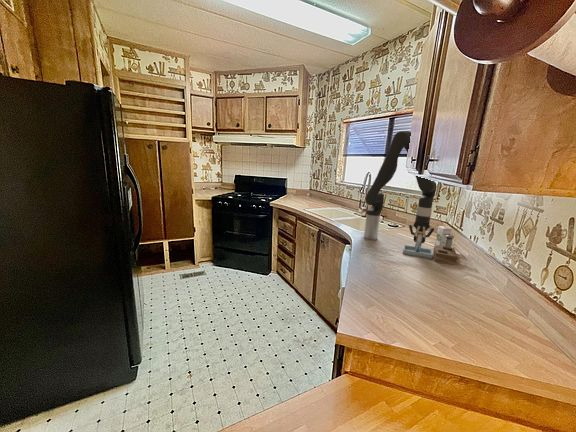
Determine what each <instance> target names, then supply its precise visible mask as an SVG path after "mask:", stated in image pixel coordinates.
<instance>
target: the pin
mask: <svg viewBox="0 0 576 432" xmlns="http://www.w3.org/2000/svg"><path fill="white" fill-rule="evenodd" d="M445 237H446V242H445V248H444V249H445V250H451V248H452V246H453V245H452V244H453V241H454V239H455V235H452V234H451V235H446V236H445Z"/></svg>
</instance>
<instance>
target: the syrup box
mask: <svg viewBox="0 0 576 432" xmlns="http://www.w3.org/2000/svg"><path fill="white" fill-rule="evenodd" d="M452 231H453V228H451V227H449V226H447V225H439V226H438V227H437V233H436V236H435V237H436V239H435V244H434V246H435V245H439V246H445V242H446V237H445V236H446V235H452Z"/></svg>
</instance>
